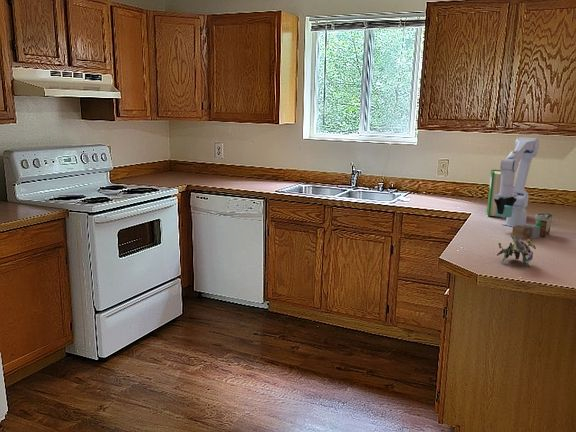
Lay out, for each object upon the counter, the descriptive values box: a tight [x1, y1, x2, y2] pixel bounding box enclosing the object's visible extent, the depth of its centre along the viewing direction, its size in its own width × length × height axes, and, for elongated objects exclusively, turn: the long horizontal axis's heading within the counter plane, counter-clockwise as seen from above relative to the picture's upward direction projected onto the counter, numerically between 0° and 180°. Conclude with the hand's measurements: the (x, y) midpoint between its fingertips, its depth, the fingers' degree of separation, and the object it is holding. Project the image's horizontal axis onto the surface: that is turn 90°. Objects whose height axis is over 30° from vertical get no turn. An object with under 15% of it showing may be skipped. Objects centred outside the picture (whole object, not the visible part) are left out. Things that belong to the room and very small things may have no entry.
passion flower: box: [496, 233, 537, 268], centre depth 188 cm, size 13×12×14 cm
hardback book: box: [486, 169, 504, 219], centre depth 282 cm, size 18×7×24 cm, turn 161°
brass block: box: [511, 225, 530, 240], centre depth 230 cm, size 5×5×5 cm
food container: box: [534, 211, 553, 239], centre depth 236 cm, size 12×6×10 cm, turn 143°
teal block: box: [495, 205, 513, 219], centre depth 242 cm, size 5×5×5 cm
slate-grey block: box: [524, 224, 541, 239], centre depth 233 cm, size 5×5×5 cm
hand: (503, 213), depth 242 cm, fingers closed on teal block, 5 cm apart
